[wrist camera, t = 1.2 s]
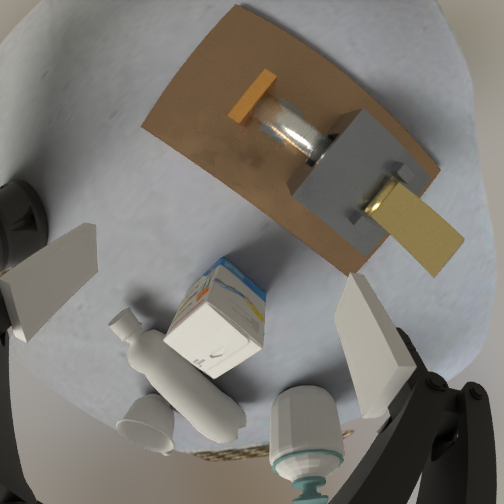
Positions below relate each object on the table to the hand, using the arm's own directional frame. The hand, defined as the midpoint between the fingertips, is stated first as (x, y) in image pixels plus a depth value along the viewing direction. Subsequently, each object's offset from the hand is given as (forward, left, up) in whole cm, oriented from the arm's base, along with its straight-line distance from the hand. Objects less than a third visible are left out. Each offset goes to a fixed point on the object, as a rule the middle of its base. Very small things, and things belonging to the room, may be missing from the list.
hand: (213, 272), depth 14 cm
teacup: (+11, -47, -23) cm, 54 cm away
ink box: (+6, -14, -23) cm, 28 cm away
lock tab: (+13, +9, -10) cm, 19 cm away
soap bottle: (+31, -25, -23) cm, 46 cm away
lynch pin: (+1, +9, -20) cm, 22 cm away
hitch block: (+1, +9, -23) cm, 25 cm away
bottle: (+9, -31, -24) cm, 40 cm away
